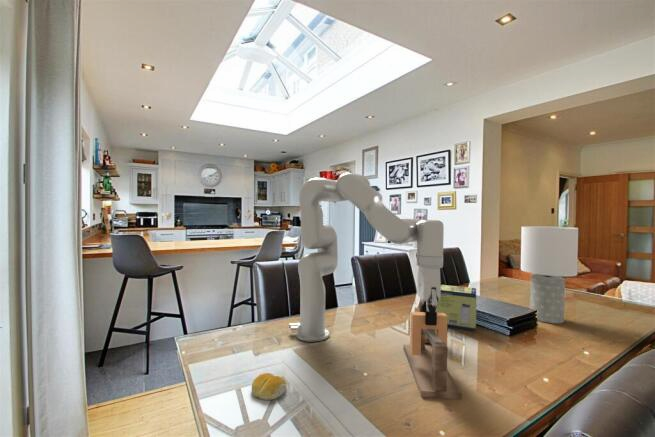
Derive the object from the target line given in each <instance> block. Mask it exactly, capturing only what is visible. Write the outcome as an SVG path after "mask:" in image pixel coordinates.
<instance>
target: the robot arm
mask: <svg viewBox="0 0 655 437" xmlns="http://www.w3.org/2000/svg"><path fill="white" fill-rule="evenodd" d="M298 200H299V201H298V202H299V208H300V233H301V235H300V237H301V244H302V247H304V248H305V249H307V250H317V251H316V252H309V253H306V254H305V255H303V256H301V258H300V259H299V260H298V264H297V271H298V275H299V277H298V278H299V285H300V287H299V288H300V289H299V290H300V291H299V292H300V293H299V298H300V302H299V303H300V306H299V308H300V309H299V312H300V314H299V315H300V316H299V318H300V319H299V322H296V323H295V322H294V323H293V322H290V323H289V324H288V328H289V329H290V331H296V332H295V337H296V338H297V339H298V340H301V341H304V342H310V343H316V342H321V341H324V340H327V339H328V338H329V336H330V332H329V330H328V329H327V328H326V285H325V282H324V280H323V277H324V276H328V275H330V274H332V273H334V272H335V271H336V270H337V267H338V261H339V260H338V258H339V257H338V235H337V231H336V229H335V228H334V227H333V226H331V225H330V224H327V223H324V213H323V209H322V206H321V204H320V203H321V202H329V203H330V202H331V203H337V202H345V201H349V202H350V203H351V204H352V205H354V206H355V208H357V209H358V210H359V211H361V212H362V213H363V214H364V216H365V218H366V219H367V221H368V222H369V224H370V225H371V227H372V228H373V229H374V230H375V231H376V232H378V233H379V234H380V235H381V236H382V237H384V239H386V240H387V241H388V242H390V243H393V244H396V245H402V244H407V243H408V244H409V243H416V266H417V267H418V269H417V279H416V280H417V282H416V283H417V284H416V294H417V296H418V297H419V299H421V301H422V302H421V301H420V303H421V304H422V305H423V306H421V312H425V324H426V325H434V326H436V325H437V305H438V304H437V302H439V301H440V295H441V285H442V282H441V269H442V268H444V237H445V236H444V234H445V231H444V230H445V229H444V228H445V227H444V223H443V221H441V220H437V219H422V220H421V219H414V218H400V217H399V216H398V215H396V214H394V213H393V212H392V211H391V210H390V209H389V208H388V207H387V206H386V205H385V204H384V203H383V195H382V194H381V193H380V192H379V191H377V189H375V188H374V187H372V186H371V183H370V180H369V179H368V178H367V177H366V176H365V175H361V174H357V173H353V172H345V173H342V174H341V175H339V177H338V178H337V180H335V179H329V178H325V177H314V178H313V177H312V178H310V179H309V180H308V179H307V181H306V182H304V184H302V186H301V188H300V190H299V195H298Z"/></svg>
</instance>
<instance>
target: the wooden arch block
mask: <svg viewBox="0 0 655 437" xmlns="http://www.w3.org/2000/svg"><path fill="white" fill-rule="evenodd" d="M409 329H410V331H409V332H410V338H409V339H410V341H409V342H410V343H409V345H410V351H411V354H412V355H420V356H421V329H436V331H435V332H436V334H437V335H438V337H439V338H440V340H441V341H442V342H444V343H445V344H446V346H447V347H448V328H447V315H446V314H445V313H437V325H436V326H434V325H426V324H425V312H419V311H410V328H409Z"/></svg>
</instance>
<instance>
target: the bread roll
mask: <svg viewBox="0 0 655 437" xmlns="http://www.w3.org/2000/svg"><path fill="white" fill-rule="evenodd" d="M286 390H287V382H286V380H285V379H284V378H283V377H282V376H279V375H274V374H272V373H270V372H265V373H264V372H263V373H261V374H259V375H258V376H256V377H255V378H254V379H253V381H252V383H251V393H252V395H253V396H254V397H255V398H260V399H261V400H264V401H271V400H276V399H277V398H279V397H281V396H283V394H284V393H285V392H286Z"/></svg>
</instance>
